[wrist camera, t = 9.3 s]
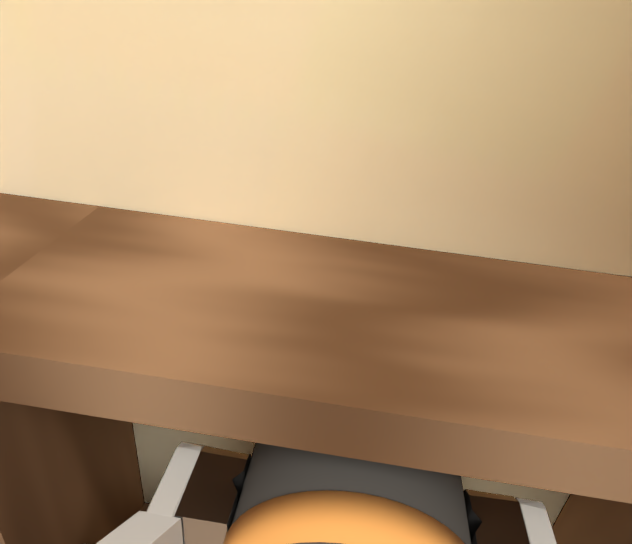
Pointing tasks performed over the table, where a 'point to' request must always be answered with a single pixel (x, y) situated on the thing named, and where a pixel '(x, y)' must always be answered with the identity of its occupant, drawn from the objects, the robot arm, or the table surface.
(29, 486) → the brown wooden frame
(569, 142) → the table surface
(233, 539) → the orange-banded dark cylinder
